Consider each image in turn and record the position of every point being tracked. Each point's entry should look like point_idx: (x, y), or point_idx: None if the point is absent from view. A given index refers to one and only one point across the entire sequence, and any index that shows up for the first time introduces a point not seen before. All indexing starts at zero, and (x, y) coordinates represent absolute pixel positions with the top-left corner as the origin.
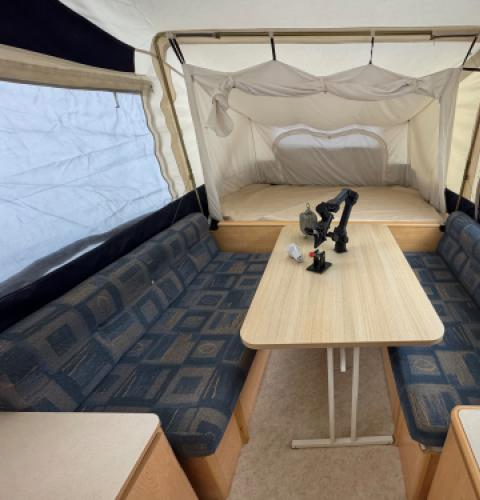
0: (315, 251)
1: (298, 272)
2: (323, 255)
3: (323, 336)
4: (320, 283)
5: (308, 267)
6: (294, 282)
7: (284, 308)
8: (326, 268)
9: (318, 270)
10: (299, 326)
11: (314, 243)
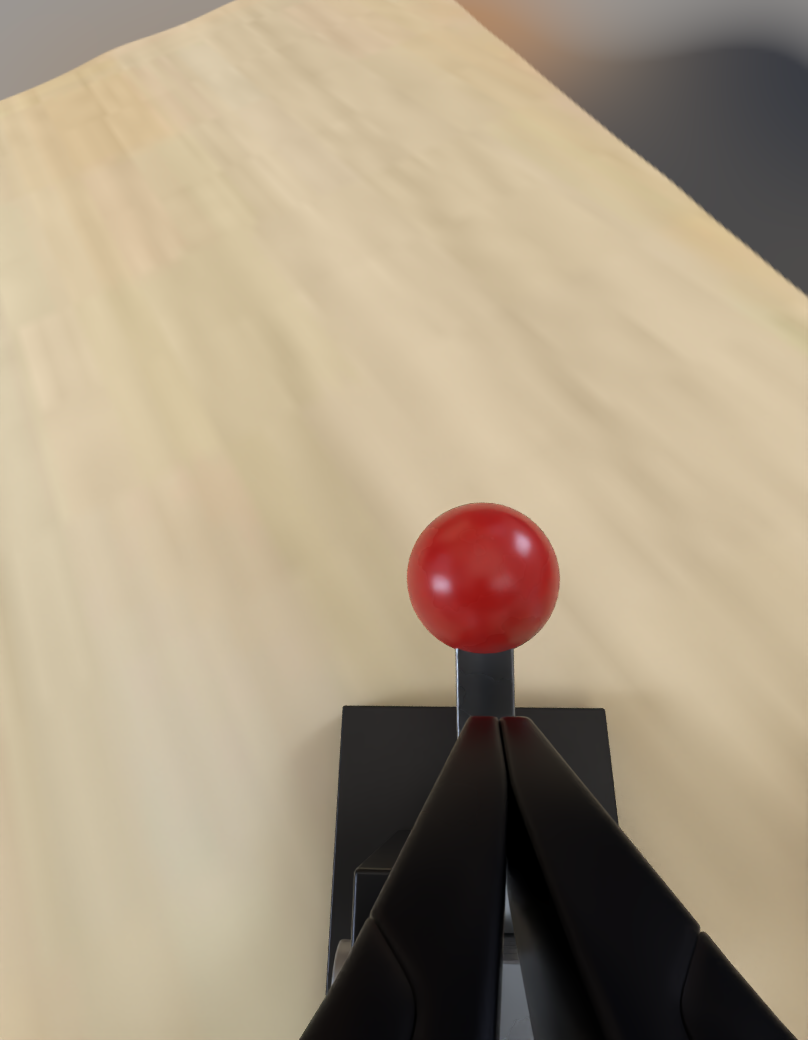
0: None
1: (643, 592)
2: (336, 953)
3: (22, 106)
4: (252, 515)
5: (590, 738)
6: (519, 398)
7: (353, 141)
8: (334, 905)
9: (396, 732)
10: (176, 95)
11: (596, 825)
